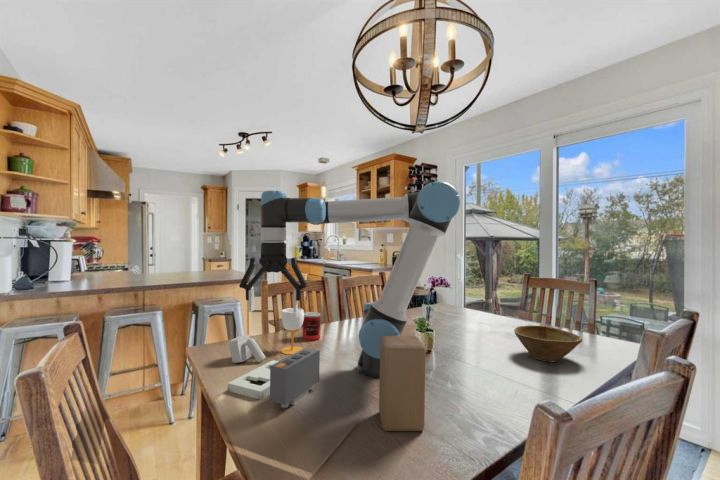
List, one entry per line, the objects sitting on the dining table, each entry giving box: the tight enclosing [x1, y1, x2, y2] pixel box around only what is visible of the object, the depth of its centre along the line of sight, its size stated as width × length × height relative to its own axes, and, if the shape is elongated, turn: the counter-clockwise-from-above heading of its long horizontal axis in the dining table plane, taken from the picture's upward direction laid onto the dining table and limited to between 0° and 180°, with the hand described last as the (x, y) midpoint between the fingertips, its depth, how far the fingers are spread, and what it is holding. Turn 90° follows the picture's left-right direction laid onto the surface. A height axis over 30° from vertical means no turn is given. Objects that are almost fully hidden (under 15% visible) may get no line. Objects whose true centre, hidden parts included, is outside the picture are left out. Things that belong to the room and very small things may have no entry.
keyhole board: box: [227, 359, 280, 401], centre depth 103 cm, size 12×20×3 cm, turn 156°
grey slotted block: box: [269, 347, 321, 409], centre depth 93 cm, size 5×16×12 cm, turn 156°
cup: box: [280, 307, 305, 356], centre depth 133 cm, size 9×9×16 cm
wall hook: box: [228, 334, 267, 364], centre depth 121 cm, size 8×10×10 cm
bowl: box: [513, 324, 583, 362], centre depth 129 cm, size 22×23×10 cm
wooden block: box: [378, 335, 427, 432], centre depth 83 cm, size 10×10×20 cm
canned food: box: [302, 311, 321, 342], centre depth 149 cm, size 8×8×11 cm
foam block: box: [289, 389, 310, 406], centre depth 93 cm, size 4×7×3 cm, turn 156°
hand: (273, 311), depth 104 cm, fingers open, 13 cm apart
